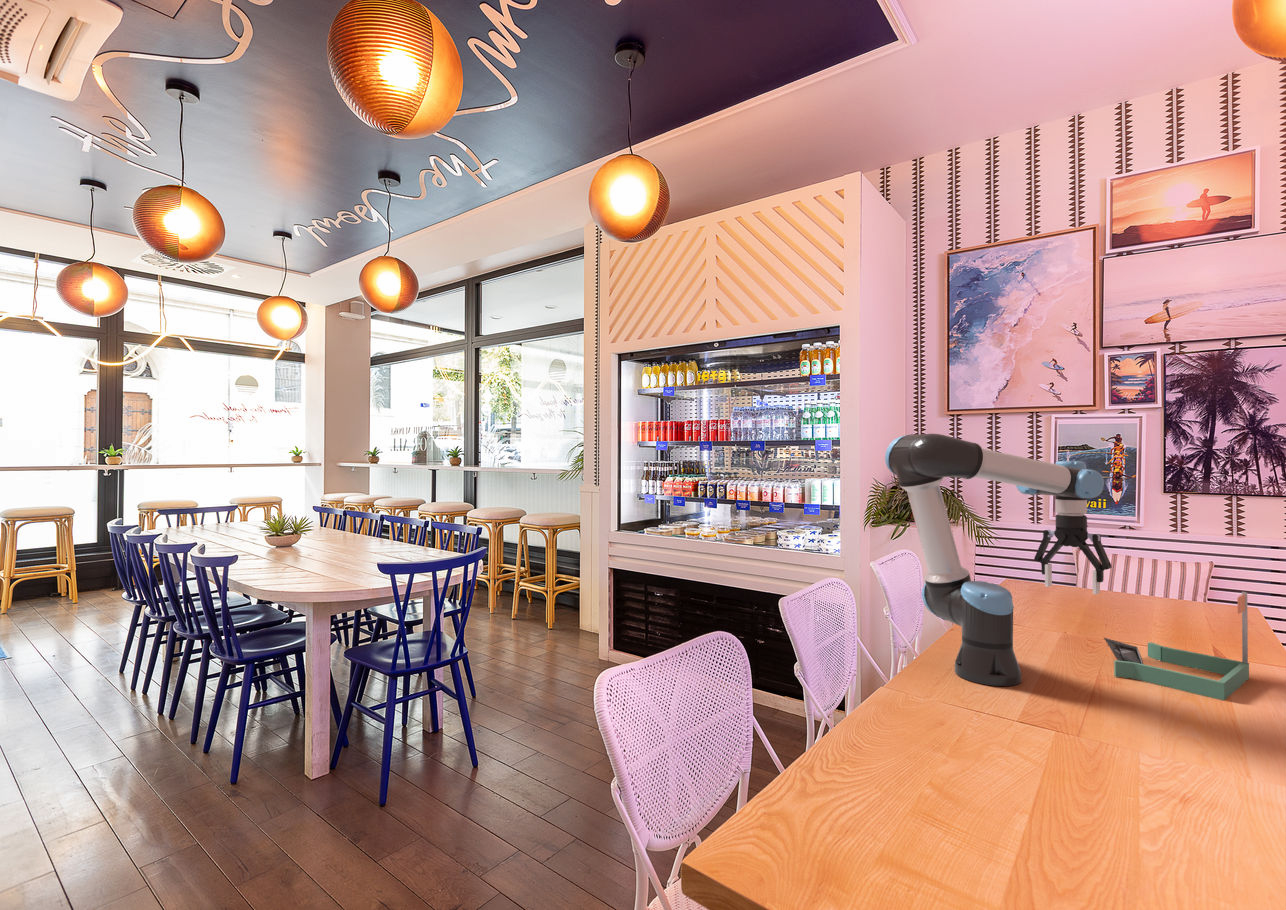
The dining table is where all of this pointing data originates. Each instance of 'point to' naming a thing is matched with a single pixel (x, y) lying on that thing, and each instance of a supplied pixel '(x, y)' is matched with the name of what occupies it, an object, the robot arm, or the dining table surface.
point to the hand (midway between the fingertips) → (1071, 589)
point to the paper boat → (1124, 651)
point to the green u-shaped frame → (1193, 666)
